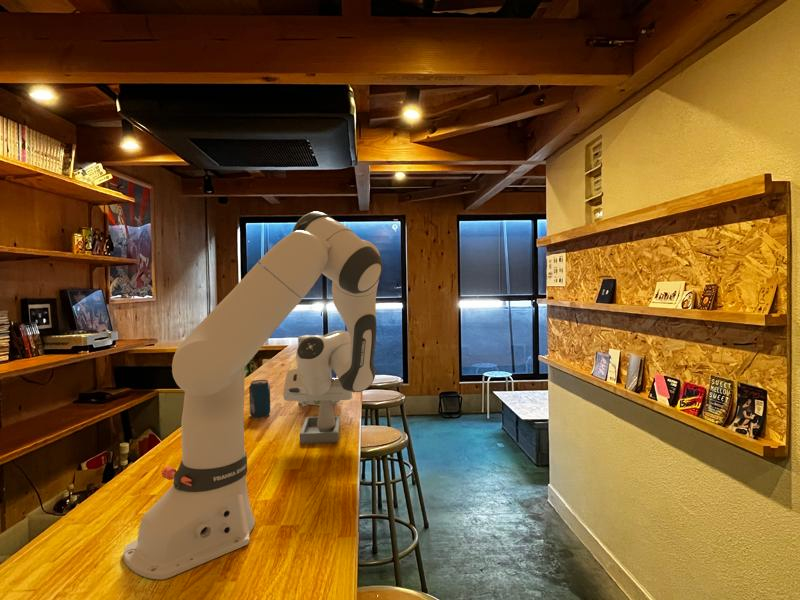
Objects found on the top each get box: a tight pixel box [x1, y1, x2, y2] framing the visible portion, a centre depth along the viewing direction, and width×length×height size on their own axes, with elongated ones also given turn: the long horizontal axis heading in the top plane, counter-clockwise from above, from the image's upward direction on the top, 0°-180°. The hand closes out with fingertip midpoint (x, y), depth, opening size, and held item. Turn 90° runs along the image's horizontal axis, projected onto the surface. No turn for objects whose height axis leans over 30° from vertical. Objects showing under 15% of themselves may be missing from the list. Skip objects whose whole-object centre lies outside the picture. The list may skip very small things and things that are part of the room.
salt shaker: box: [317, 400, 336, 432], centre depth 142 cm, size 6×6×13 cm
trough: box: [299, 415, 341, 445], centre depth 142 cm, size 16×11×3 cm
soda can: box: [248, 379, 271, 419], centre depth 161 cm, size 7×7×12 cm
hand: (320, 403), depth 142 cm, fingers open, 8 cm apart
